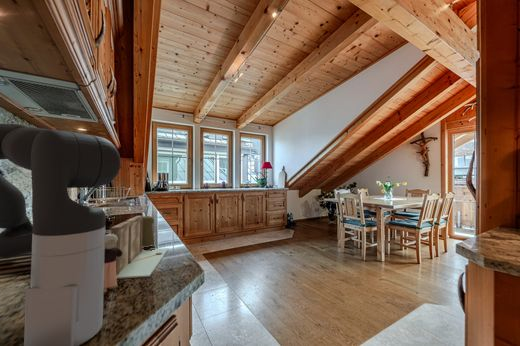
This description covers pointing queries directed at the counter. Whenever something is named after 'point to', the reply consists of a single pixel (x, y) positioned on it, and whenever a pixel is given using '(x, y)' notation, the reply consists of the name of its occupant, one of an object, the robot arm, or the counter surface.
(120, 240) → the panel
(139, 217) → the fence panel
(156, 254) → the board
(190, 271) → the counter surface
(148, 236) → the olive grey cylinder
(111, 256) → the grandmother figurine
